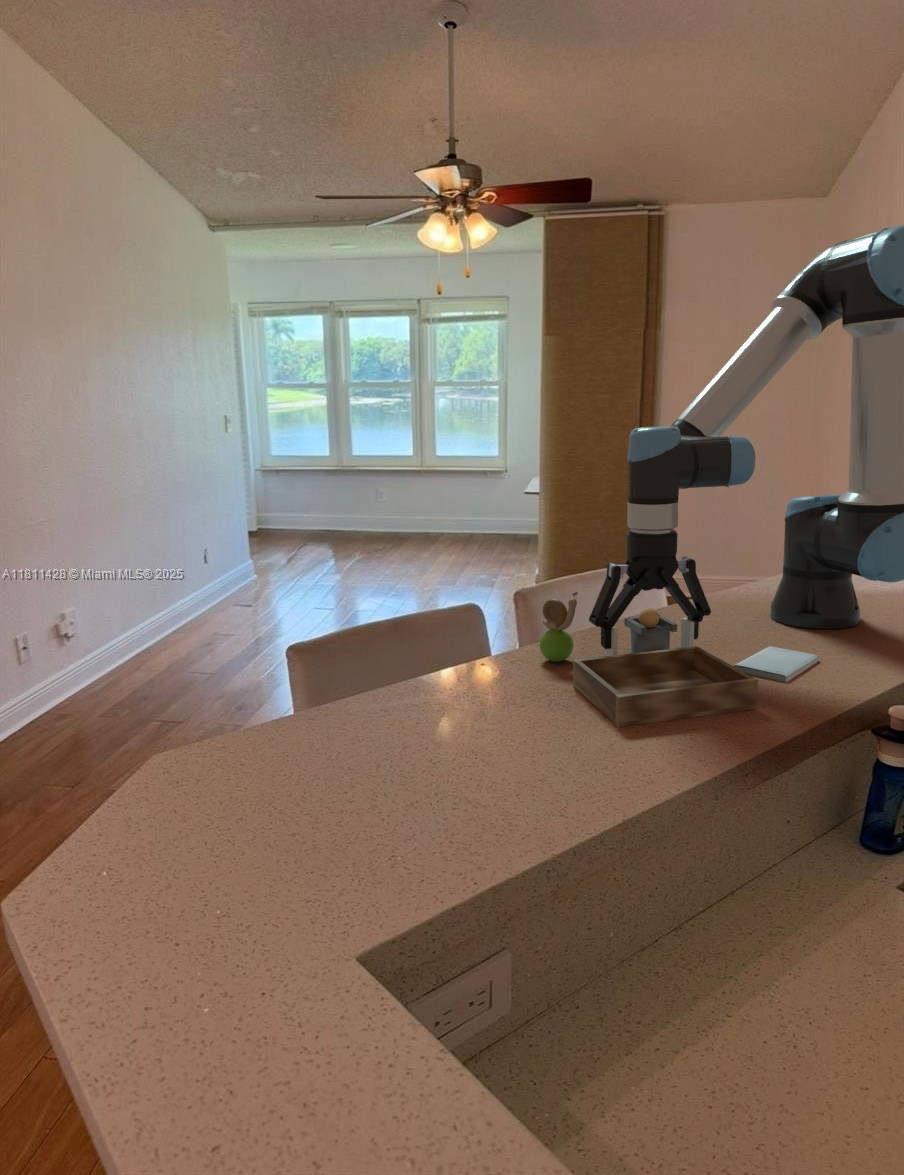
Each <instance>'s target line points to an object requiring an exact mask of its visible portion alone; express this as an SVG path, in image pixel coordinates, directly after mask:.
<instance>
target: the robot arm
mask: <svg viewBox="0 0 904 1175" xmlns="http://www.w3.org/2000/svg"><path fill="white" fill-rule="evenodd" d="M841 319H842V322H841V324H842V325H841V327H842V329H843V330H844V331H845V332H846V333H848V334H849V335H850V336H851V338H852V339H851V340H852V347H851V348H852V350H851V355H852V356H851V378H850V379H851V380H850V381H851V382H850V384H851V388H850V416H849V417H850V419H849V421H850V422H849V425H850V426H849V453H848V454H849V455H848V456H849V458H848V460H849V461H848V464H849V465H848V488H847V489H846V490H845V491H844V492H843V493H842V494H841V493H840V494H826V495H824V494H823V495H809V496H797V497H793V498H792V499H790V500H789V501H788V502H787V504H786V505H787V506H786V511H785V516H784V522H785V523H784V541H783V542H784V543H783V561H782V562H783V563H782V575H781V579H780V582H779V584H778V586H777V589H776V592H775V594H774V597H773V600H772V601H771V603H770V614H769V615H770V618H771V619H772V620H774V621H775V622H778V623H781V624H784V625H788V626H794V627H799V628H805V629H815V630H816V629H820V630H837V629H846V628H851V627H854V626H856V625H858V624H859V623H860V617H861V608H860V606H859V602H858V598H857V594H856V590H855V587H854V586H855V585H854V583H853V575H855V576H857V577H861V578H864V579H865V580H869V581H874V582H875V581H876V582H878V581H879V582H884V583H898V582H902V581H904V224H903V225H897V226H895V225H894V226H891V227H885V228H882V229H880V230H877V231H874V232H871V233H868V234H865V235H861V236H859V237H854V238H851V239H847V240H843V241H840V242H837V243H835V244H833V245H831V246H829V247H828V248H826V249H824V250H822V251H821V252H820V253H819V254H818V255H816V256H814V258H813V259H812V260H810V261H809V262H808V263H807V264H806V265H805V266H804V267H803V268H802V269H801V270H800V271H799V272H797V274H796V275H795V276H794V277H793V279H791V281H790V282H788V284H786V286H785V287H784V288H783V289H782V290H781V292H780V293H779V294H778V295H777V296H776V297H775V299H774V300H772V303H771V311H770V313H769V314H768V316H766V318H764V320H763V321H762V322H761V323H760V324H759V325H758V326H757V328H756V329H755V330H754V331H753V332H752V333H751V334H750V336H749V337H748V338H747V339H746V340H745V341H744V343H743V344H742V345H741V346H740V347H739V348H738V349H737V350H736V351H735V352H734V354H733V355H732V356H731V357H730V358H729V359H728V360H727V361H726V363H725V364H724V365H723V366H722V367H721V368H720V369H719V371H718V372H717V373H716V374H715V375H714V376H713V378H712V379H710V380H709V382H708V383H707V384H706V385H705V387H704V388H703V389H702V390H701V391H700V392H699V393H698V395H697V396H696V397H695V398H694V399H693V400H692V402H690V404H689V405H688V406H687V407H686V408H685V409H684V410H683V411H682V413H680V415H679V416H678V417H677V418H676V419H675V420H674V422H672V424H671V425H668V426H642V427H636V428H633V429H632V430H631V432H630V433H629V439H628V446H627V448H628V449H627V456H626V460H627V511H626V512H627V514H626V515H627V516H626V517H627V518H626V519H627V522H626V526H627V527H628V528H629V529H630V530H628V532H627V533H626V556H627V559H626V562H625V564H616V563H612V562H609V563H608V564H607V567H606V574H605V575H606V577H605V579H604V582H603V584H602V587H601V589H600V592H599V593H598V596H597V598H596V602H595V603H594V606H593V608H592V611H591V612H590V615H589V617H588V621H589V623H591V625H593V626H595V627H597V628H600V645H601V647H602V648H604V649H605V656H613V655H618V643H619V642H618V639H619V638H618V635H619V634H618V633H619V632H618V631H619V630H618V629H617V628H616V627H615V625H616V624H617V622H618V621H619V620H620V618H621V617H622V615H623V614H624V613H625V611H626V610H627V609H628V607H629V605H631V603H632V601H633V600H634V598H635V596H638V595H639V594H640V593H641V591H645V592H647V591H651V590H654V589H655V590H664V588H665V590H666V591H667V592H668V594H670V596H671V597H672V598H673V600H674V601H675V602H676V603H677V605H678V606H679V608H680V610H681V611H682V612H683V613H684V614H685V616H686V617H682V618H681V620H680V621H681V625H680V626H681V627H680V631H681V632H680V648H685V647H694V646H695V645H694V642H695V640H698V638H699V630H700V628H699V627H700V623H702V621H703V619H704V617H709V616H710V615H711V614H712V610H711V607H710V605H709V602H708V600H707V597H706V595H705V592H704V589H703V587H702V585H701V582H700V579H699V577H698V575H697V565H696V564H697V563H696V560H695V559H694V558H689V557H688V556H682V557H681V559H677V556H676V555H677V552H678V532H677V531H676V530H675V529H677V527H678V526H679V495H680V490H686V489H693V488H694V489H695V488H696V489H697V488H714V487H715V488H716V487H726V488H729V487H730V486H739V485H743V484H746V483H747V482H748V481H750V479H751V477H752V476H753V475H754V471H755V469H756V468H755V467H756V457H757V456H756V452H755V447H754V446H753V444H752V442H751V441H750V440H749V439H747V438H746V437H745V436H731V435H726V436H722V435H723V434H724V433H725V432H726V431H727V429H729V428H730V426H731V425H732V424H733V423H734V422H735V421H736V419H738V417H739V416H740V415H741V414H742V413H743V412H744V411H745V410H746V409H747V407H748V406H749V405H750V404H751V403H752V401H754V399H755V398H756V397H757V396H758V395H759V394H760V393H761V392H762V390H764V388H765V387H766V386H767V385H768V384H769V382H770V381H772V379H773V378H774V377H775V376H776V375H777V374H778V373H779V371H781V369H782V368H783V367H784V366H785V365H786V364H787V362H789V360H790V359H791V358H792V357H793V356H794V354H796V352H798V350H799V349H800V348H801V347H802V346H803V345H804V344H805V342H807V341H809V340H815V339H816V338H818V337H819V336H820V335H821V334H822V332H824V330H825V329H827V327H829V326H830V325H832V324H833V323H836V322H837V321H839V320H841ZM677 570H678V571H679V572H680V573H681V574H682V578H683V580H684V582H685V584H686V588H687V590H688V592H689V595H690V598H691V600H692V602H691V601H690V600H689V598H688V596H686V594H685V593H684V591H683V590H682V589H681V588H680V585H679V583H678V582H677V580H676V579H675V578H674V575H675V574H676V573H677ZM625 574H626V575H627V576H628V578H627V580H626V581H625V582H624V584H623V586H622V589H621V591H619V593H618V594H617V596H616V597H615V594H616V592H617V590H618V588H619V584H620V581H621V579H622V578H624V575H625ZM614 597H615V599H614ZM613 599H614V600H613ZM612 601H613V602H612Z"/></svg>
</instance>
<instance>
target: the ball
mask: <svg viewBox="0 0 904 1175" xmlns="http://www.w3.org/2000/svg"><path fill="white" fill-rule="evenodd" d="M659 615H660V613H659V612H658V610H656V609H655V608H652V607H645V608H643V609H641V610H640V611H639V614H638V616H637V617H638V619H639V622H640V624H641V625H643V626H645V627H646V628H652V627H654V626H656V625H657V623H658V622H659Z"/></svg>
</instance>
